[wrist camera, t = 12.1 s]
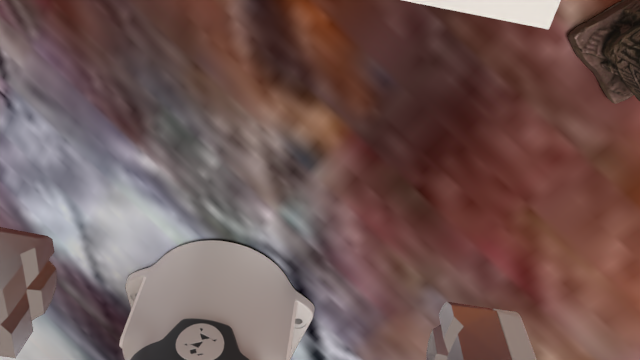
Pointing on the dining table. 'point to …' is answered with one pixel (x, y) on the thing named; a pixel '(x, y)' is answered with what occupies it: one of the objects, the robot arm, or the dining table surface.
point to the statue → (612, 49)
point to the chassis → (503, 9)
